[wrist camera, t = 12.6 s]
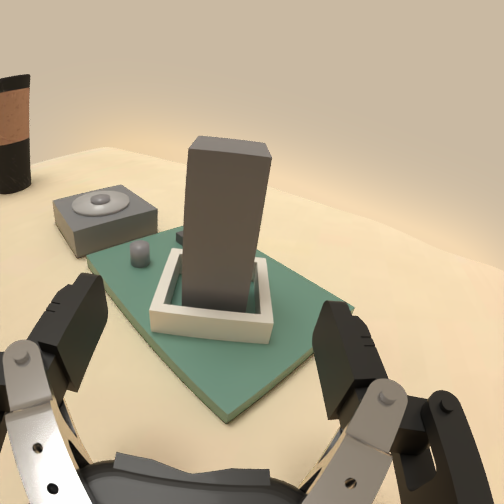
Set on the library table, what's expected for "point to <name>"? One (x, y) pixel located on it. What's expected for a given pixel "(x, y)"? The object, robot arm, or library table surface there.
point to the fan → (103, 219)
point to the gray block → (222, 221)
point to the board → (217, 359)
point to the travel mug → (14, 134)
